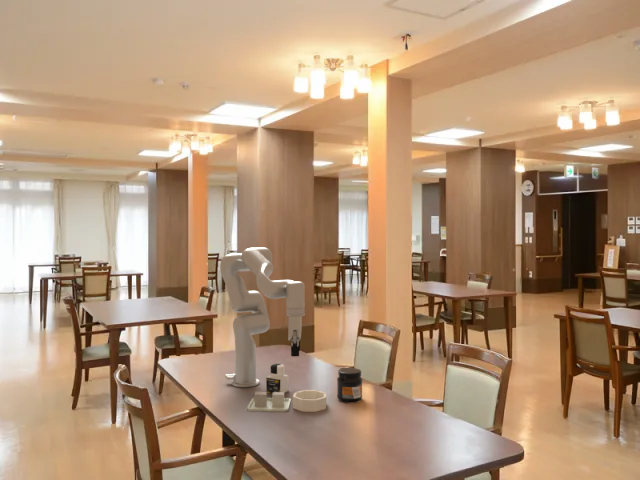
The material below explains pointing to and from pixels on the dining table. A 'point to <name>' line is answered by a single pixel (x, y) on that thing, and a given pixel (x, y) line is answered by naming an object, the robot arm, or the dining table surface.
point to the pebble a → (278, 399)
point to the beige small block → (260, 399)
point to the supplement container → (349, 385)
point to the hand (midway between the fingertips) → (295, 353)
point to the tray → (269, 406)
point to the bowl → (309, 400)
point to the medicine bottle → (277, 379)
